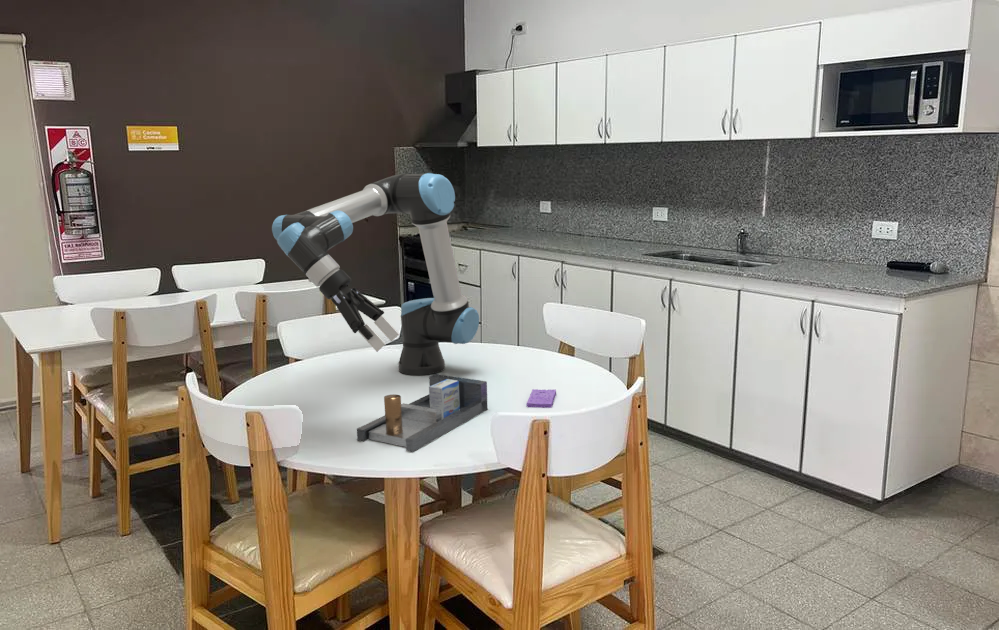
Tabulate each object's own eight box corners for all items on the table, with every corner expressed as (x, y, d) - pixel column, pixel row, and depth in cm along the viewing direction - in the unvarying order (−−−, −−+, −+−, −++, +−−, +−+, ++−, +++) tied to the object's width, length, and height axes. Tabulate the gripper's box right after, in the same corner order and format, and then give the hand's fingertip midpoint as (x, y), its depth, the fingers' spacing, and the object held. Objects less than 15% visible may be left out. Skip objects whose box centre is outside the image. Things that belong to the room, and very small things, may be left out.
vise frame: (357, 440, 186) (355, 409, 184) (436, 401, 215) (435, 373, 213) (413, 452, 178) (411, 419, 176) (487, 409, 206) (486, 381, 205)
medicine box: (443, 419, 199) (442, 388, 198) (429, 417, 202) (428, 385, 200) (460, 411, 206) (459, 380, 204) (447, 408, 208) (445, 378, 206)
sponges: (556, 395, 218) (556, 389, 218) (551, 409, 206) (551, 403, 206) (532, 394, 220) (532, 388, 219) (526, 409, 208) (526, 402, 207)
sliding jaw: (369, 439, 186) (366, 396, 184) (404, 421, 198) (402, 381, 196) (408, 447, 180) (406, 403, 178) (442, 428, 192) (440, 387, 190)
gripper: (335, 283, 196) (390, 343, 197) (300, 294, 172) (363, 363, 172) (355, 263, 195) (410, 324, 196) (322, 272, 170) (386, 341, 171)
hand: (388, 342), depth 184 cm, fingers open, 13 cm apart
